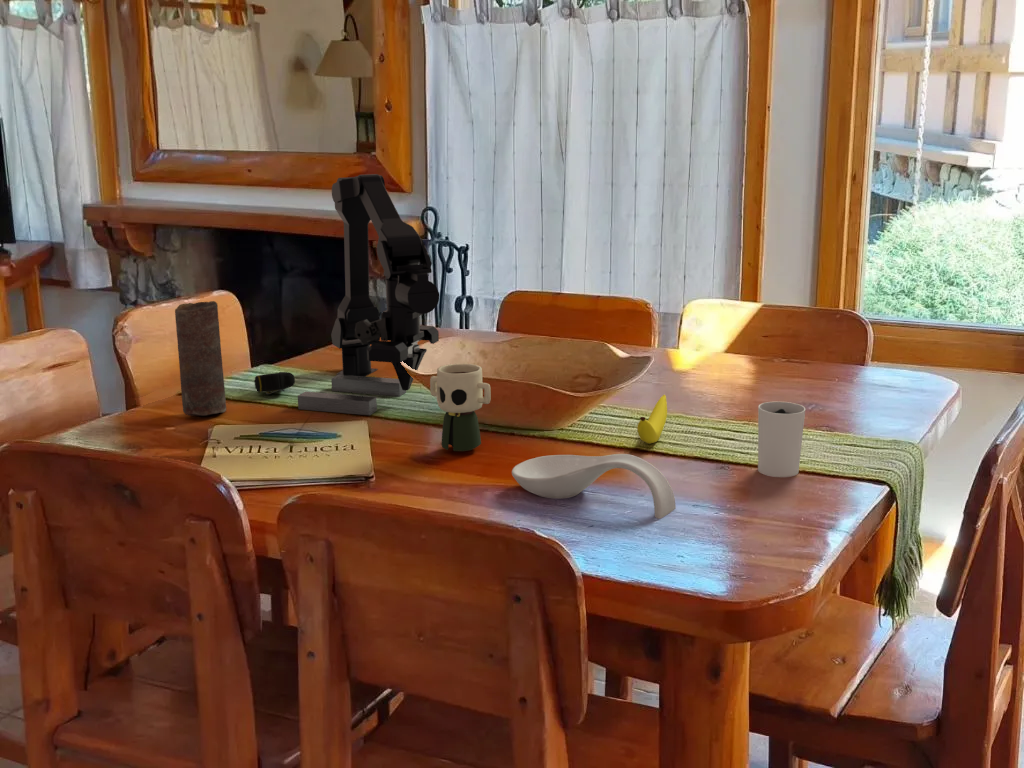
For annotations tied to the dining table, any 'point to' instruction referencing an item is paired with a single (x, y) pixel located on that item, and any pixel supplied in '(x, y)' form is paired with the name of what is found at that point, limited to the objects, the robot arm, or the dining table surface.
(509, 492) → the dining table surface
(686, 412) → the dining table surface
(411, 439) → the dining table surface
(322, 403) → the guide channel
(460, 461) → the dining table surface
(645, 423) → the banana
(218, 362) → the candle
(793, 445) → the light grey cup
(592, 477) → the spoon rest
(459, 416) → the character mug
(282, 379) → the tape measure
